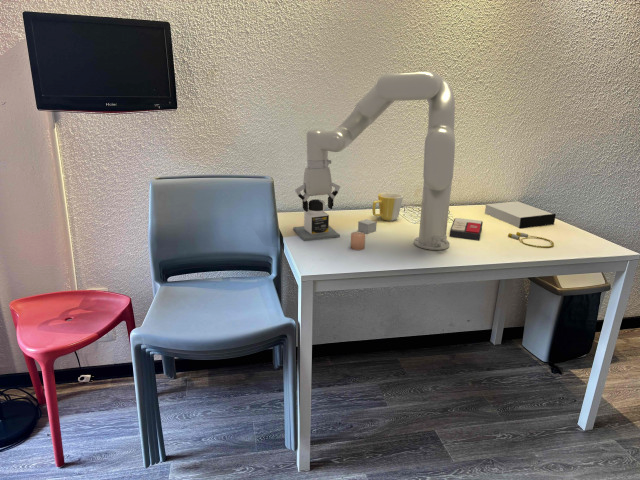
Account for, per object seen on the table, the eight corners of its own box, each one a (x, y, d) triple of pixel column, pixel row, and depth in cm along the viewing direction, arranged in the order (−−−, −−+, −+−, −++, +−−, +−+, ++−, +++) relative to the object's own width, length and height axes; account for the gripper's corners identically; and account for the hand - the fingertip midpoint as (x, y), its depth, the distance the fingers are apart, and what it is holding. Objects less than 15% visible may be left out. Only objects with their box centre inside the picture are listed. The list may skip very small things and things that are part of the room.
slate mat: (339, 237, 185) (339, 234, 184) (304, 241, 180) (304, 238, 180) (326, 226, 197) (326, 224, 197) (293, 229, 192) (293, 227, 192)
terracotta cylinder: (367, 249, 173) (367, 235, 172) (353, 250, 172) (354, 237, 170) (361, 244, 178) (361, 231, 176) (348, 246, 176) (348, 232, 174)
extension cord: (531, 234, 193) (532, 229, 192) (560, 248, 179) (561, 242, 178) (505, 236, 190) (505, 232, 189) (532, 250, 176) (533, 245, 175)
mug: (394, 214, 214) (395, 191, 211) (405, 221, 205) (407, 197, 202) (365, 217, 210) (366, 193, 206) (375, 224, 201) (377, 199, 197)
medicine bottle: (311, 234, 184) (311, 203, 180) (303, 229, 190) (304, 199, 186) (328, 232, 187) (329, 201, 183) (320, 227, 193) (321, 197, 189)
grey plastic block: (376, 231, 192) (376, 221, 191) (367, 234, 189) (367, 224, 188) (366, 228, 196) (367, 219, 194) (357, 231, 192) (358, 221, 191)
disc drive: (520, 229, 199) (522, 217, 197) (484, 214, 219) (485, 203, 217) (554, 225, 205) (556, 214, 203) (515, 211, 224) (517, 200, 223)
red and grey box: (450, 228, 186) (454, 216, 199) (448, 239, 188) (453, 226, 201) (480, 232, 183) (483, 219, 196) (478, 243, 184) (481, 229, 197)
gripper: (335, 161, 186) (336, 205, 191) (291, 164, 180) (293, 209, 186) (343, 164, 179) (343, 209, 185) (297, 167, 174) (299, 214, 179)
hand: (318, 209), depth 185 cm, fingers open, 9 cm apart
